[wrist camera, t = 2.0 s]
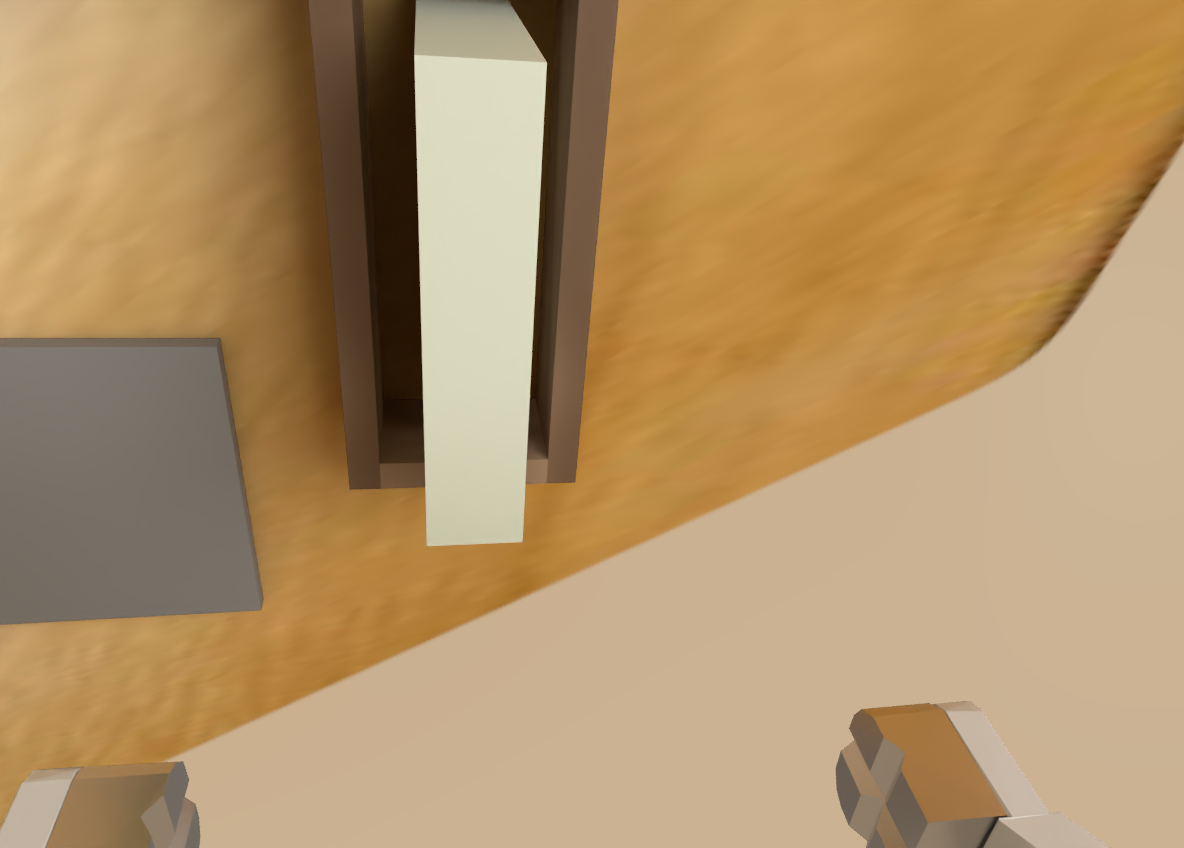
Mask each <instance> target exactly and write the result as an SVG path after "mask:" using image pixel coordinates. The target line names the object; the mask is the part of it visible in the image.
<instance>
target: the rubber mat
mask: <svg viewBox="0 0 1184 848" xmlns="http://www.w3.org/2000/svg"><path fill="white" fill-rule="evenodd" d="M262 604H263V594H262V588H261V582H260V576H259V570H258V564H257V558H256V552H255V546H254V539H253V533H252V527H251V521H250V515H249V509H248V503H247V497H246V491H245V485H244V479H243V473H242V467H241V461H240V455H239V449H238V443H237V437H236V431H235V425H234V419H233V413H232V407H231V401H230V395H229V389H228V383H227V377H226V371H225V365H224V358H223V352H222V346H221V340H220V338H39V339H0V625H3V624H21V623H39V622H58V621H76V620H94V619H112V618H130V617H148V616H167V615H185V614H203V613H221V612H239V611H258V610H261V609H262Z"/></svg>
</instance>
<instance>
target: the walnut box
mask: <svg viewBox="0 0 1184 848" xmlns="http://www.w3.org/2000/svg"><path fill="white" fill-rule="evenodd" d="M308 2H309V14H310V26H311V37H312V49H313V61H314V73H315V85H316V96H317V108H318V120H319V132H320V144H321V155H322V167H323V179H324V191H325V203H326V215H327V226H328V238H329V250H330V262H331V274H332V285H333V297H334V309H335V321H336V333H337V344H338V356H339V368H340V380H341V392H342V404H343V415H344V427H345V439H346V451H347V463H348V474H349V486H350V489H382V488H414V487H425V451H424V413H423V399H417V400H384V389H383V370H382V352H381V333H380V315H379V296H378V278H377V260H376V241H375V223H374V204H373V186H372V167H371V149H370V131H369V112H368V94H367V75H366V57H365V38H364V20H363V2H362V0H308ZM617 11H618V0H557V10H556V28H555V46H554V65H553V83H552V101H551V119H550V137H549V155H548V173H547V191H546V210H545V228H544V246H543V264H542V282H541V300H540V318H539V337H538V355H537V373H536V391H535V398H530V403H529V423H528V442H527V462H526V481H525V484H541V483H573V482H575V479H576V468H577V457H578V446H579V435H580V423H581V412H582V401H583V390H584V379H585V368H586V357H587V345H588V334H589V323H590V312H591V301H592V290H593V279H594V267H595V256H596V245H597V234H598V223H599V212H600V200H601V189H602V178H603V167H604V156H605V145H606V134H607V122H608V111H609V100H610V89H611V78H612V67H613V56H614V44H615V33H616V22H617Z"/></svg>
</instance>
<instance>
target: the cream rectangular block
mask: <svg viewBox="0 0 1184 848" xmlns="http://www.w3.org/2000/svg"><path fill="white" fill-rule="evenodd" d="M414 65H415V104H416V143H417V181H418V220H419V258H420V297H421V335H422V374H423V413H424V451H425V490H426V528H427V546H442V545H465V544H487V543H510V542H522V540H523V520H524V501H525V481H526V462H527V442H528V423H529V403H530V384H531V364H532V344H533V325H534V305H535V286H536V266H537V247H538V227H539V208H540V188H541V169H542V149H543V130H544V110H545V91H546V71H547V62H546V60H545V59H544V57H543V55H542V54H541V52H540V51H539V49H538V47H537V46H536V44H535V43H534V41H533V39H532V38H531V36H530V34H529V33H528V31H527V30H526V28H525V26H524V25H523V23H522V22H521V20H520V18H519V17H518V15H517V14H516V12H515V10H514V9H513V7H512V6H511V4H510V2H509V1H508V0H416V19H415V47H414Z"/></svg>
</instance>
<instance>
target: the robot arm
mask: <svg viewBox="0 0 1184 848" xmlns="http://www.w3.org/2000/svg"><path fill="white" fill-rule="evenodd" d="M849 729H850V731H851V733H852V735H853V737H854V739H855V740H854V741H852V742H851V743H850V744H849V745H848V746H846V747H845V748H844V749H843V750H841V752H840V756H839V759H838V763H837V766H836V785H837V793H838V797H839V800H840V804H841V808H842V810H843V813H844V815H845V817H846V820H847V822H848V825H849V826H850V827H851V828H852V829H854V830H855V831H856V832H857V833H859V834H860V835H861V836H862V837H863V838H864V839H866V840H867V846H866V848H1110V847H1109V846H1107V845H1106V844H1104V843H1103V842H1102V841H1100V840H1098V839H1097V838H1096V837H1094V836H1093V835H1091V834H1090V833H1089V832H1087V831H1086V830H1084V829H1083V828H1081V827H1080V826H1079V825H1077V824H1076V823H1074V822H1073V821H1072V820H1070V819H1069V818H1067V817H1066V816H1064V815H1063V814H1062V813H1060V812H1056V813H1049V812H1048V811H1047V809H1046V808H1045V806H1044V804H1043V803H1042V801H1041V800H1040V798H1039V797H1038V795H1037V794H1036V792H1035V791H1034V789H1033V788H1032V786H1031V785H1030V783H1029V782H1028V780H1027V779H1026V777H1025V776H1024V774H1023V773H1022V771H1021V770H1020V768H1019V767H1018V765H1017V763H1016V762H1015V761H1014V759H1013V757H1012V756H1011V754H1010V753H1009V751H1008V750H1007V748H1006V747H1005V745H1004V744H1003V742H1002V741H1001V740H1000V738H999V736H998V735H997V733H996V732H995V730H994V729H993V727H992V726H991V724H990V723H989V721H988V719H987V718H986V717H985V715H984V713H983V712H982V710H981V709H980V708H979V707H977V706H976V705H975V704H974V703H972V702H971V701H970V702H969V701H962V702H951V703H939V704H930V703H926V704H914V705H904V706H892V707H881V708H870V709H861V710H860V711H859V712H858V713H856V714H855V715H854V717H853V719H852V722H851V725H850V728H849ZM188 782H189V778H188V775H187V772H186V769H185V766H184V763H183V762H164V763H145V764H127V765H108V766H89V767H70V768H56V769H42V770H33V771H32V772H31V773H30V774H29V775H28V777H27V778H26V779H25V780H24V781H23V782H22V784H21V785H20V786H19V788H18V791H17V793H16V795H15V797H14V799H13V801H12V804H11V806H10V808H9V810H8V812H7V814H6V817H5V819H4V821H3V823H2V825H1V828H0V848H199V844H200V826H199V816H198V812H197V808H196V804H195V803H193V802H191V801H190V800H188V799H187V798H185V793H186V789H187V786H188Z"/></svg>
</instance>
